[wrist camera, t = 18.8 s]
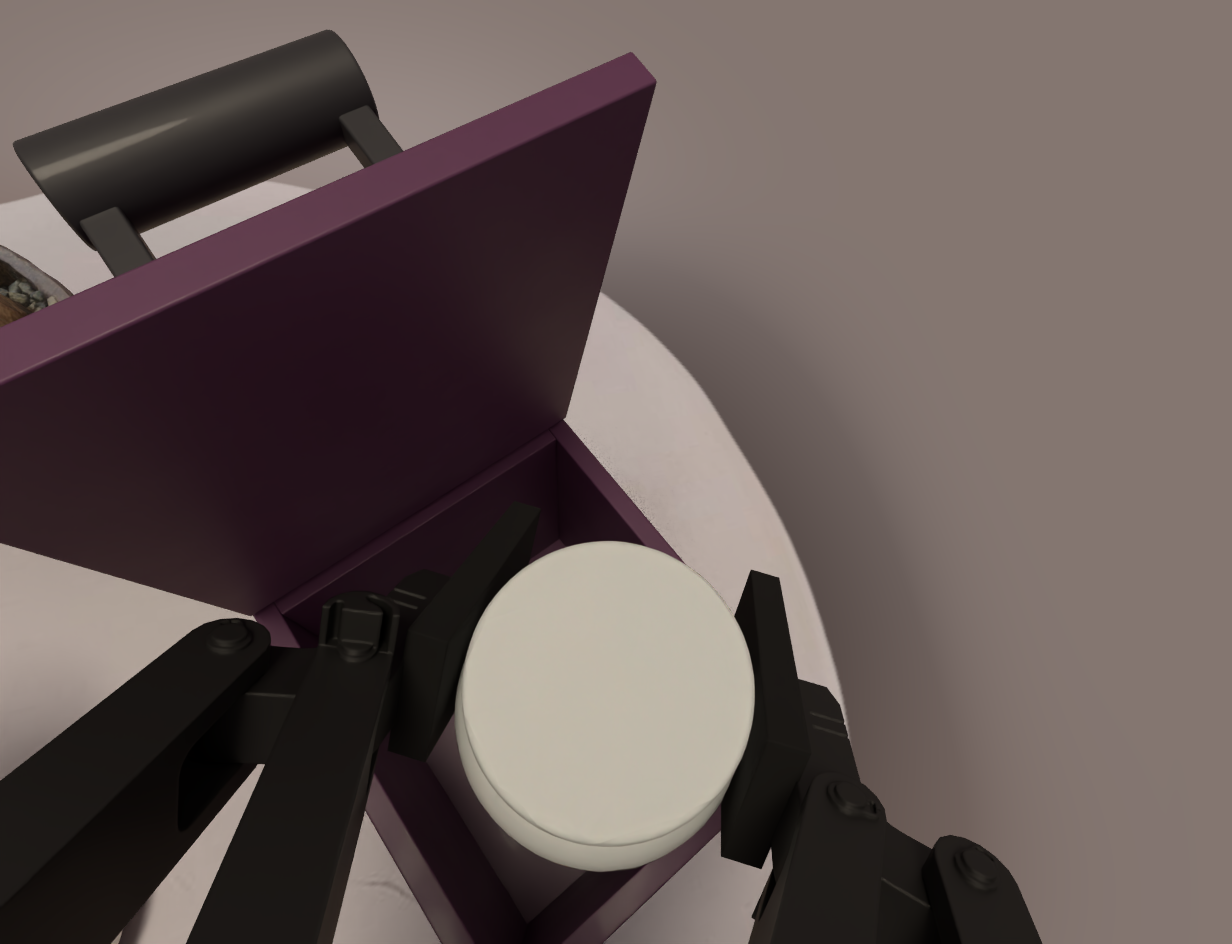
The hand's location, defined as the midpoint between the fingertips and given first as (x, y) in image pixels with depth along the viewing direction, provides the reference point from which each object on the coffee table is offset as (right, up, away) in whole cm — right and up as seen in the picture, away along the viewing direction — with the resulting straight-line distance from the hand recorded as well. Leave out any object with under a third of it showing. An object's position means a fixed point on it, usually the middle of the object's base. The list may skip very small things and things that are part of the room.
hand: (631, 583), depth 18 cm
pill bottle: (-1, -5, +2) cm, 5 cm away
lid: (-6, +4, 0) cm, 8 cm away
